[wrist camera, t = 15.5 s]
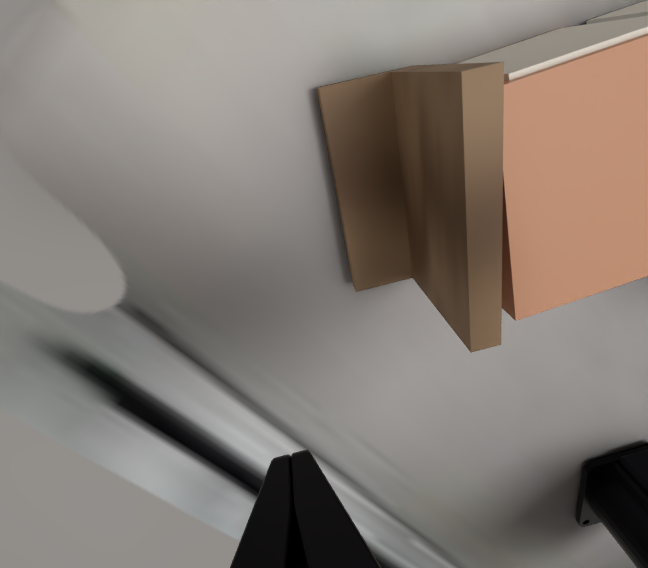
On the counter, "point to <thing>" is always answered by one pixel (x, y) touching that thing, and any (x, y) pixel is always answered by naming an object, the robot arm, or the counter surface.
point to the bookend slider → (424, 185)
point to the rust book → (574, 163)
